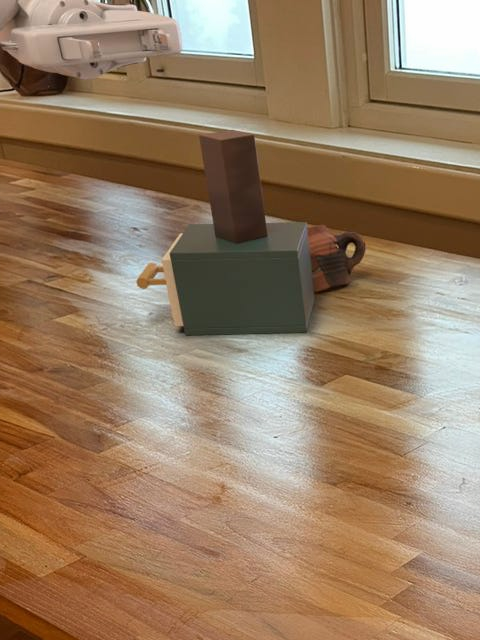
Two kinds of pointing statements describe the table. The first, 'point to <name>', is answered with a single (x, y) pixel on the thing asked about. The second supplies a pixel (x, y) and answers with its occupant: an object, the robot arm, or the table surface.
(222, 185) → the block
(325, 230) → the pottery mug
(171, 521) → the table surface
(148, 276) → the drawer
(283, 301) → the cabinet
